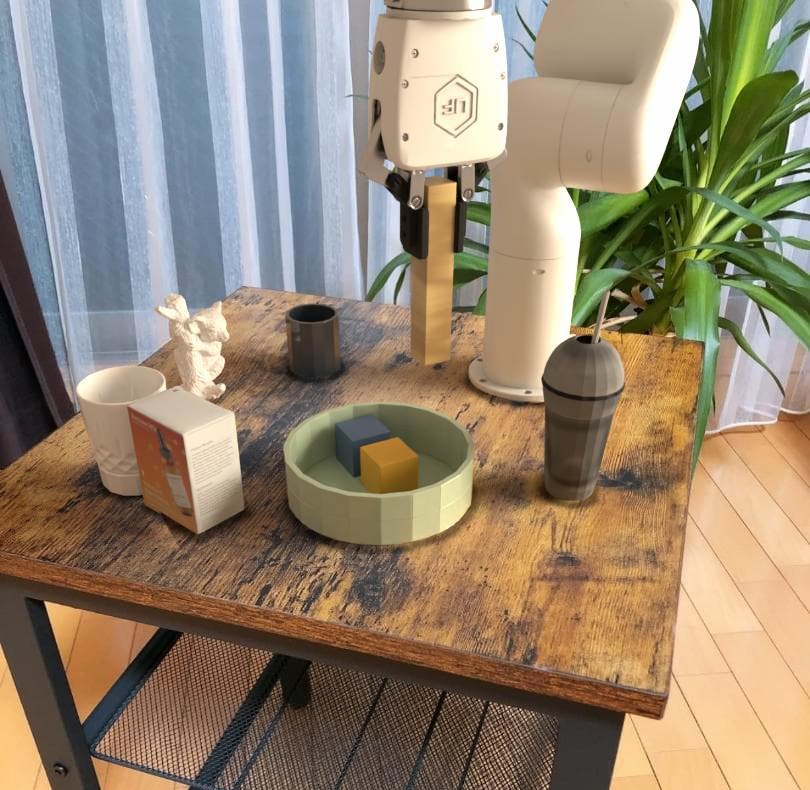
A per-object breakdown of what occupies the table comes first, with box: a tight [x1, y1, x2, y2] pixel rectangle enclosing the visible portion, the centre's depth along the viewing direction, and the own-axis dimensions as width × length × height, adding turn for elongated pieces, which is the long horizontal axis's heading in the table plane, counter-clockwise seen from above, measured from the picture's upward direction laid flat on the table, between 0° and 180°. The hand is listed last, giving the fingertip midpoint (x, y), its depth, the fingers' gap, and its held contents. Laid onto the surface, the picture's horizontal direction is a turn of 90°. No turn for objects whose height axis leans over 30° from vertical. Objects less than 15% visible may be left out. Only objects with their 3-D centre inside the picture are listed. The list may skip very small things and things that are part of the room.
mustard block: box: [360, 437, 418, 494], centre depth 85 cm, size 4×4×4 cm
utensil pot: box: [285, 303, 342, 378], centre depth 106 cm, size 6×6×7 cm
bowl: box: [282, 400, 476, 546], centre depth 84 cm, size 17×17×6 cm
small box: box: [127, 385, 245, 535], centre depth 81 cm, size 8×6×10 cm
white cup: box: [74, 365, 167, 497], centre depth 85 cm, size 8×8×10 cm
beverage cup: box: [541, 289, 626, 502], centre depth 80 cm, size 7×7×20 cm
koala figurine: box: [154, 292, 230, 400], centre depth 99 cm, size 8×7×12 cm
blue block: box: [335, 414, 390, 477], centre depth 88 cm, size 4×4×4 cm
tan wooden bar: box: [409, 175, 456, 367], centre depth 76 cm, size 3×3×15 cm
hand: (432, 249), depth 75 cm, fingers closed on tan wooden bar, 2 cm apart
